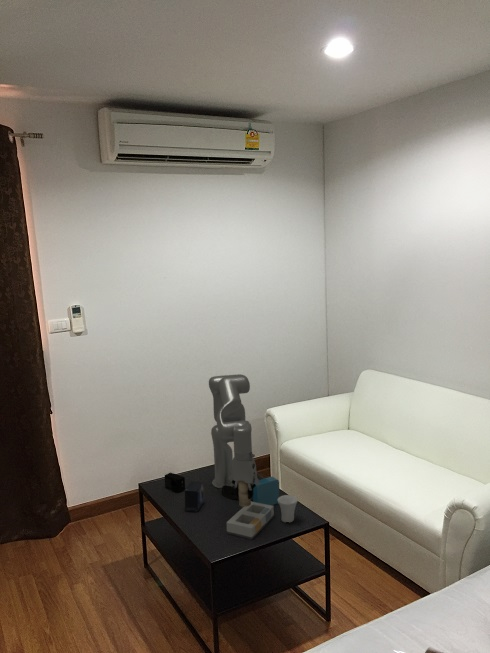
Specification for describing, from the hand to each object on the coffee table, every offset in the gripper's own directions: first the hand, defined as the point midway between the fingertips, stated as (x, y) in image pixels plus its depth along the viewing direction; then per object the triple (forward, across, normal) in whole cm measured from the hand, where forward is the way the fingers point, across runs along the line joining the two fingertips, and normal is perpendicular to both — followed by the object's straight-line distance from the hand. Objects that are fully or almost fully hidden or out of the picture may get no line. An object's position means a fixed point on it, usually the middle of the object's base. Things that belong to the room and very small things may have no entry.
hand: (244, 496), depth 227 cm
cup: (+16, -13, -16) cm, 25 cm away
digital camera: (+15, +52, -22) cm, 59 cm away
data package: (+15, +2, -26) cm, 30 cm away
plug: (+3, 0, 0) cm, 3 cm away
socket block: (+15, 0, -5) cm, 16 cm away
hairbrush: (+16, +17, -26) cm, 34 cm away
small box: (+15, +32, -10) cm, 37 cm away
